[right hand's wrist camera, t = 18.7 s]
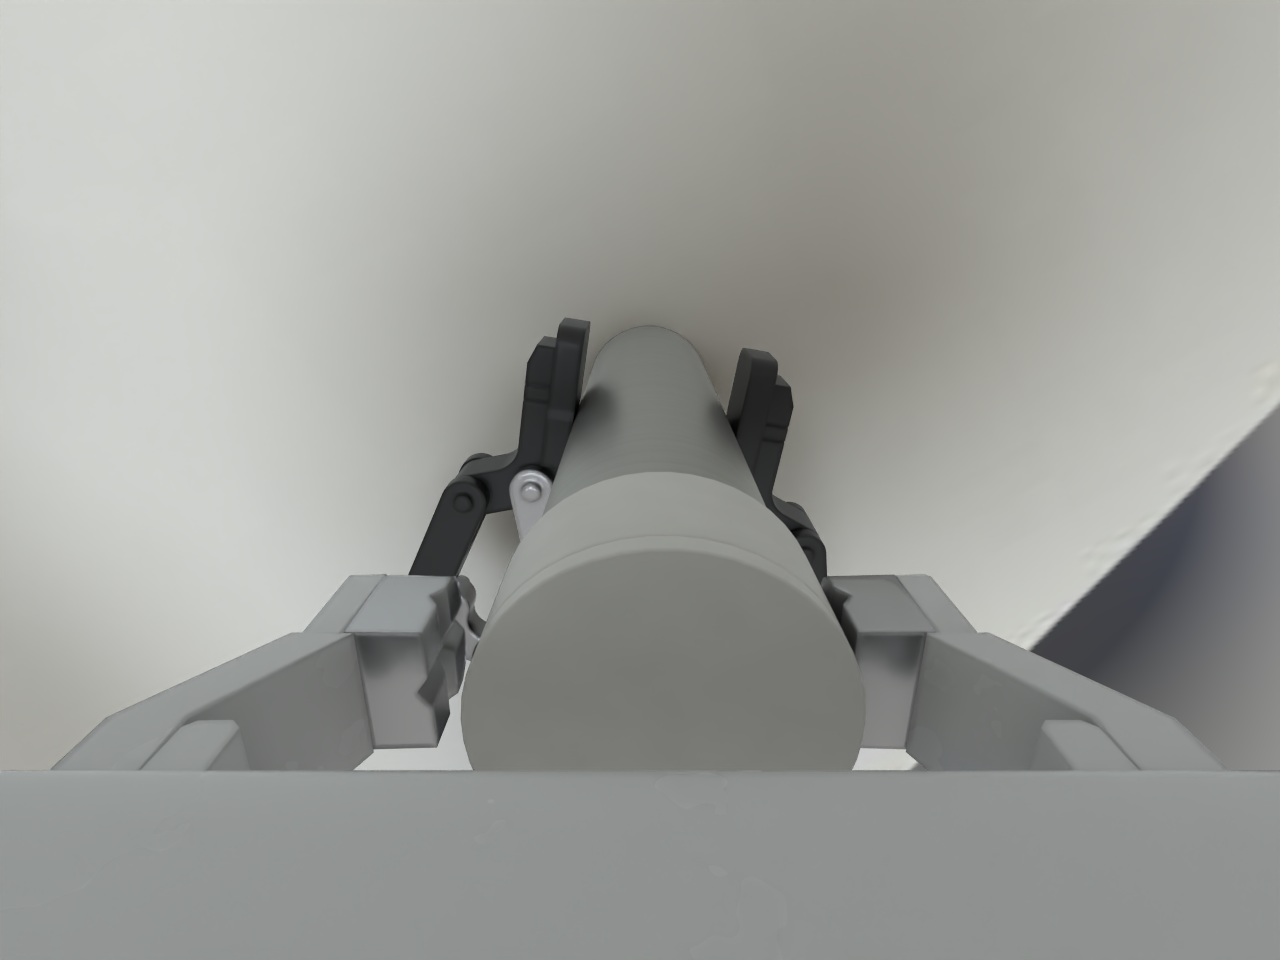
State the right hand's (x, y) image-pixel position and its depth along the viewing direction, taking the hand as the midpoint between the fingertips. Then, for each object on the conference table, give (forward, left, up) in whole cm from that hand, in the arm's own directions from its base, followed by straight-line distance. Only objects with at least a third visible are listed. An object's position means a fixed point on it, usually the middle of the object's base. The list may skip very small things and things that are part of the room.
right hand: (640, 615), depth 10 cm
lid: (0, 0, +2) cm, 2 cm away
